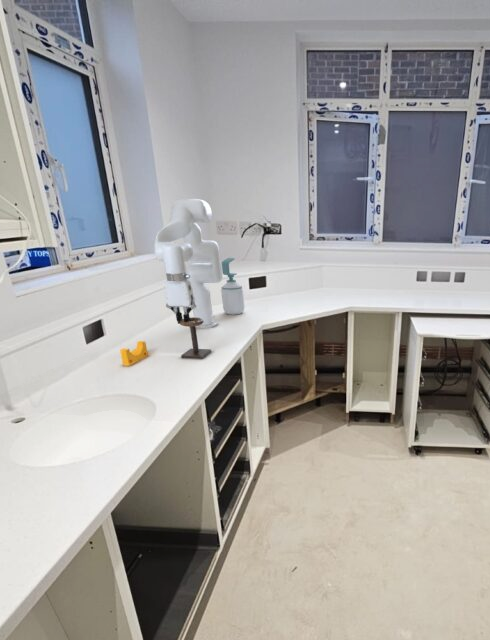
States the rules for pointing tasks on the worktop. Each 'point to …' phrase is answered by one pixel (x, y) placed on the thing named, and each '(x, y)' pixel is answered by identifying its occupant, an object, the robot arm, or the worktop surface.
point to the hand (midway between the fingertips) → (183, 322)
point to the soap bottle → (231, 292)
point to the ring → (192, 322)
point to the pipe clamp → (134, 354)
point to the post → (195, 347)
